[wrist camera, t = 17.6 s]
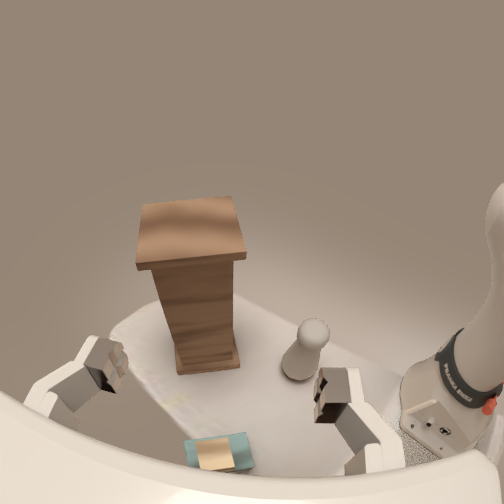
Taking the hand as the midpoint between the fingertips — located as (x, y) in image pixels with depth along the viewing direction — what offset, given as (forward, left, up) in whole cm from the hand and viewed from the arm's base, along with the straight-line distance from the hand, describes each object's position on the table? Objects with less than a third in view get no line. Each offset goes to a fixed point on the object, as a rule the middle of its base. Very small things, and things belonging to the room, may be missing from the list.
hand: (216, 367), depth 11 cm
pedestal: (+17, -5, -33) cm, 38 cm away
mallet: (-3, +2, -25) cm, 25 cm away
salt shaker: (+6, -16, -34) cm, 38 cm away
